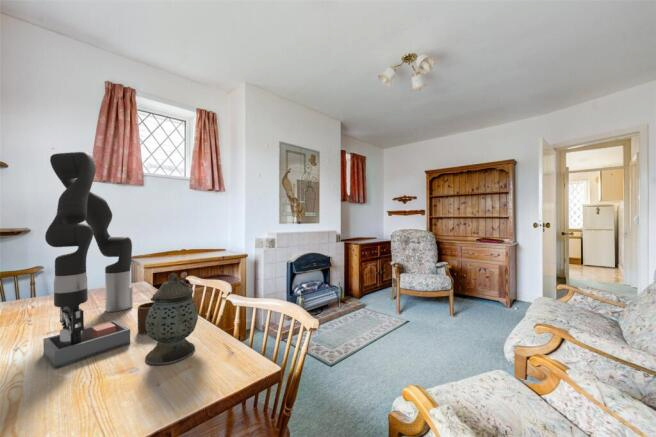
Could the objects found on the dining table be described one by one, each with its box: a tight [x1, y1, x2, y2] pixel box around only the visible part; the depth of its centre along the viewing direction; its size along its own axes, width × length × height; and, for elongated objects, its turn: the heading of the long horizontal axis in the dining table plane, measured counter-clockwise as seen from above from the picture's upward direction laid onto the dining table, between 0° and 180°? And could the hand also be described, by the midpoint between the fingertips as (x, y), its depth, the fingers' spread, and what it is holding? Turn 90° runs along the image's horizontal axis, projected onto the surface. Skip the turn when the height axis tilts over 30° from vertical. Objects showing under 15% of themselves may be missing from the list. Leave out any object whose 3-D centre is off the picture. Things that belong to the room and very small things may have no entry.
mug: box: [137, 301, 155, 335], centre depth 100 cm, size 12×8×9 cm, turn 59°
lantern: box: [144, 272, 199, 367], centre depth 84 cm, size 14×14×25 cm
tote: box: [42, 319, 131, 370], centre depth 87 cm, size 18×14×5 cm
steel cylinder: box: [59, 325, 82, 349], centre depth 83 cm, size 5×5×7 cm
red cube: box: [92, 323, 116, 339], centre depth 90 cm, size 5×5×5 cm
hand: (71, 340), depth 83 cm, fingers open, 8 cm apart
